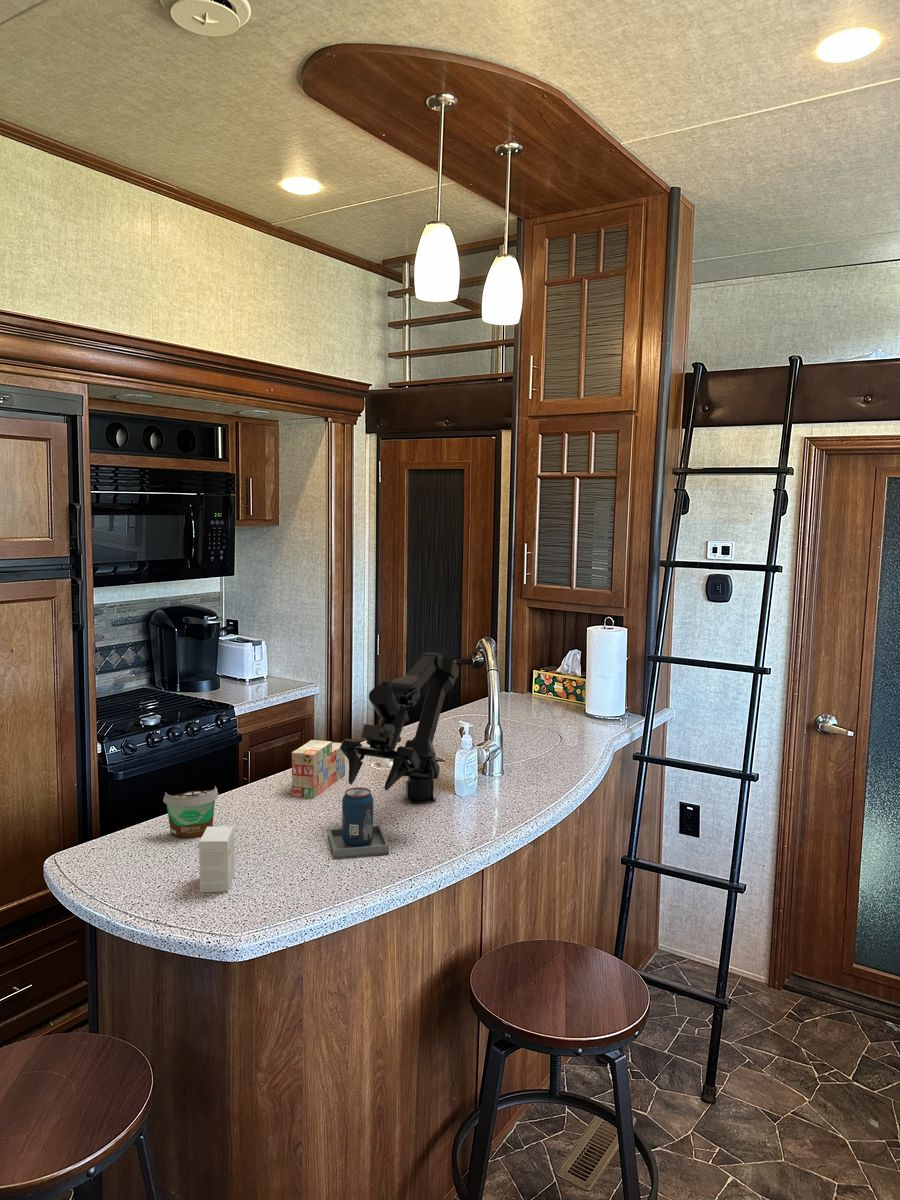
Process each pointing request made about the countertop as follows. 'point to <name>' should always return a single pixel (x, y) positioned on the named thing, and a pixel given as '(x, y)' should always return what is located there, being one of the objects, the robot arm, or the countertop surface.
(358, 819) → the soda can
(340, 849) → the tray
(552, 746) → the countertop surface
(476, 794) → the countertop surface
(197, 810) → the food container
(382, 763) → the teacup and saucer
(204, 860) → the small box
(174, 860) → the countertop surface
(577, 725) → the countertop surface
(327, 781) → the stack of blocks
